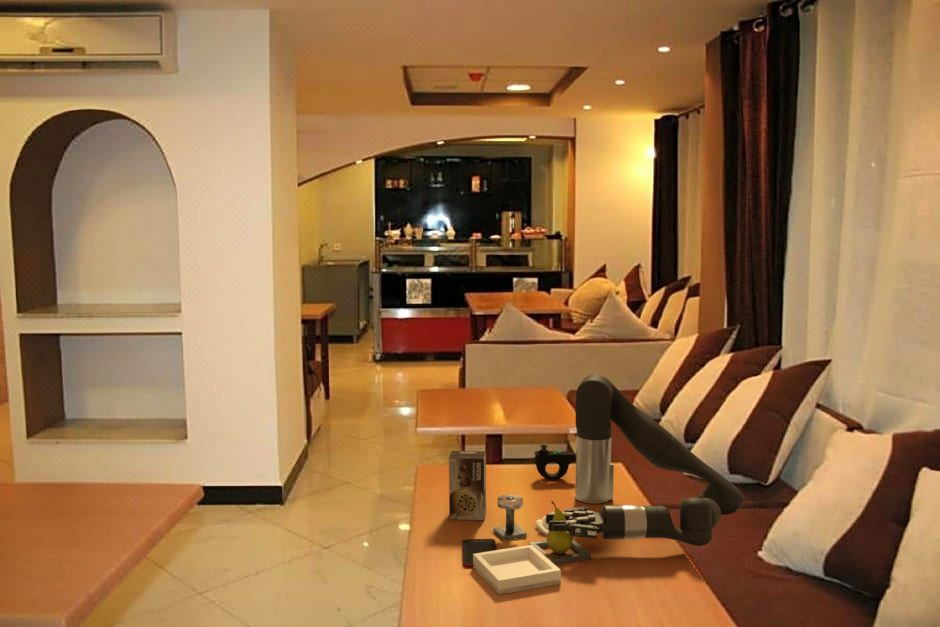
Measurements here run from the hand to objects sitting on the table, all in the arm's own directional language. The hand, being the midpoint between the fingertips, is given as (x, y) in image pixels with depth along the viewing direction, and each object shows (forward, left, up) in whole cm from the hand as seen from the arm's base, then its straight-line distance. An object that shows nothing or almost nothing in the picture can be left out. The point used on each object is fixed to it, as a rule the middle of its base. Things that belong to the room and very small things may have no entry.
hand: (547, 522), depth 187 cm
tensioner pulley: (+3, -13, -7) cm, 15 cm away
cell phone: (+14, -5, -8) cm, 17 cm away
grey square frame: (-3, +1, -7) cm, 8 cm away
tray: (+11, +8, -7) cm, 16 cm away
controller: (-26, -46, -8) cm, 53 cm away
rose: (-8, -12, -8) cm, 16 cm away
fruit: (-3, +1, -7) cm, 8 cm away
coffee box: (+8, -28, -8) cm, 30 cm away
